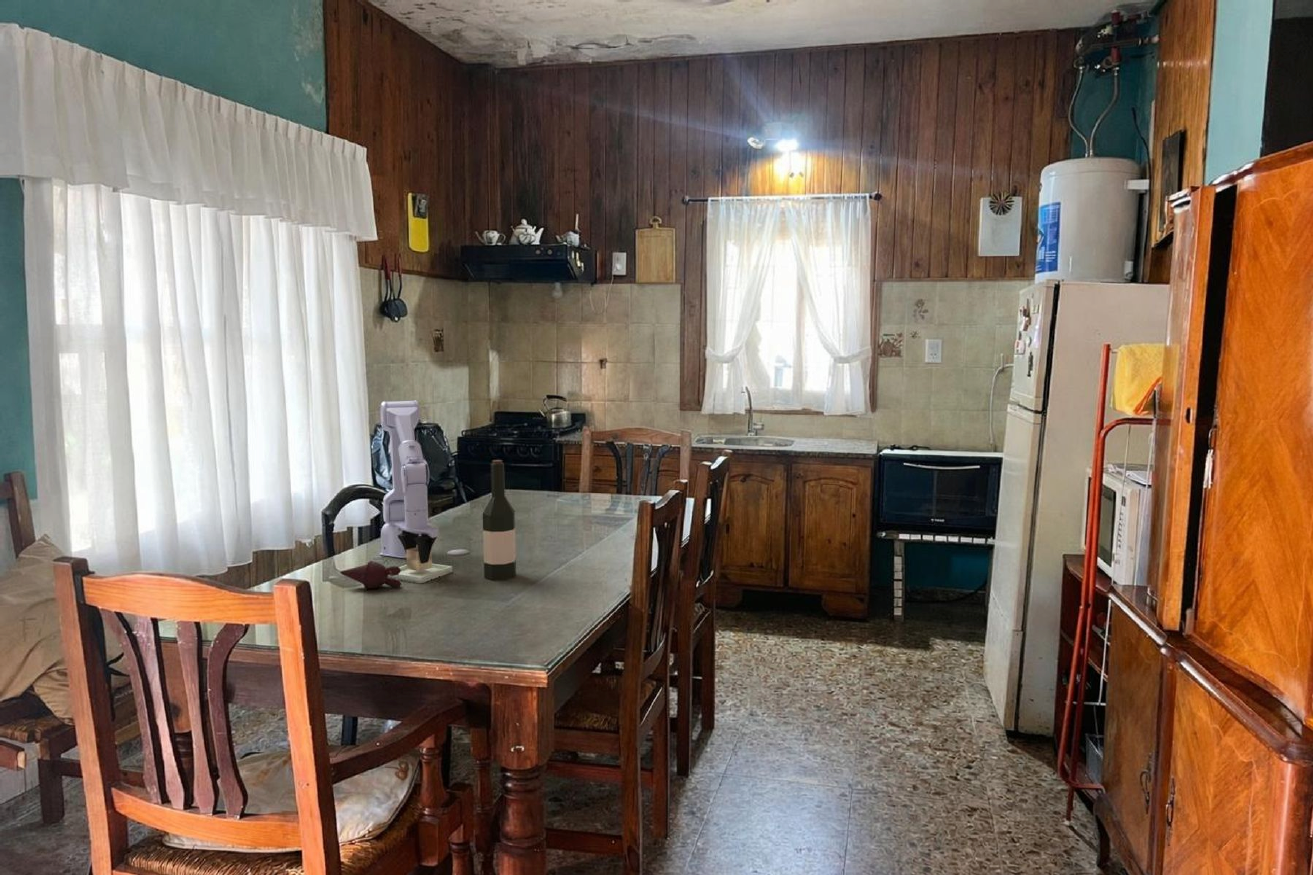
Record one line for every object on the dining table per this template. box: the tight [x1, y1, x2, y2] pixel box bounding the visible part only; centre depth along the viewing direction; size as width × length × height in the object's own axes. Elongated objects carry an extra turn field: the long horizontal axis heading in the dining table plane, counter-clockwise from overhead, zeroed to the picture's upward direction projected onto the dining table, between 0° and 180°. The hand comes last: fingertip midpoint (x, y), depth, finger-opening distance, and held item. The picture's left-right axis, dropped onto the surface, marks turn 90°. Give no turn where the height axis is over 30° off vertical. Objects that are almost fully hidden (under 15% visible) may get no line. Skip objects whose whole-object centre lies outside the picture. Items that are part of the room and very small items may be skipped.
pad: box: [447, 548, 470, 556], centre depth 246 cm, size 6×6×1 cm
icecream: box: [340, 560, 402, 590], centre depth 211 cm, size 7×7×15 cm
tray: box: [388, 563, 453, 584], centre depth 223 cm, size 12×12×2 cm
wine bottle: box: [482, 459, 517, 582], centre depth 219 cm, size 8×8×30 cm
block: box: [405, 546, 433, 571], centre depth 222 cm, size 4×4×5 cm
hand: (418, 561), depth 222 cm, fingers closed on block, 4 cm apart
